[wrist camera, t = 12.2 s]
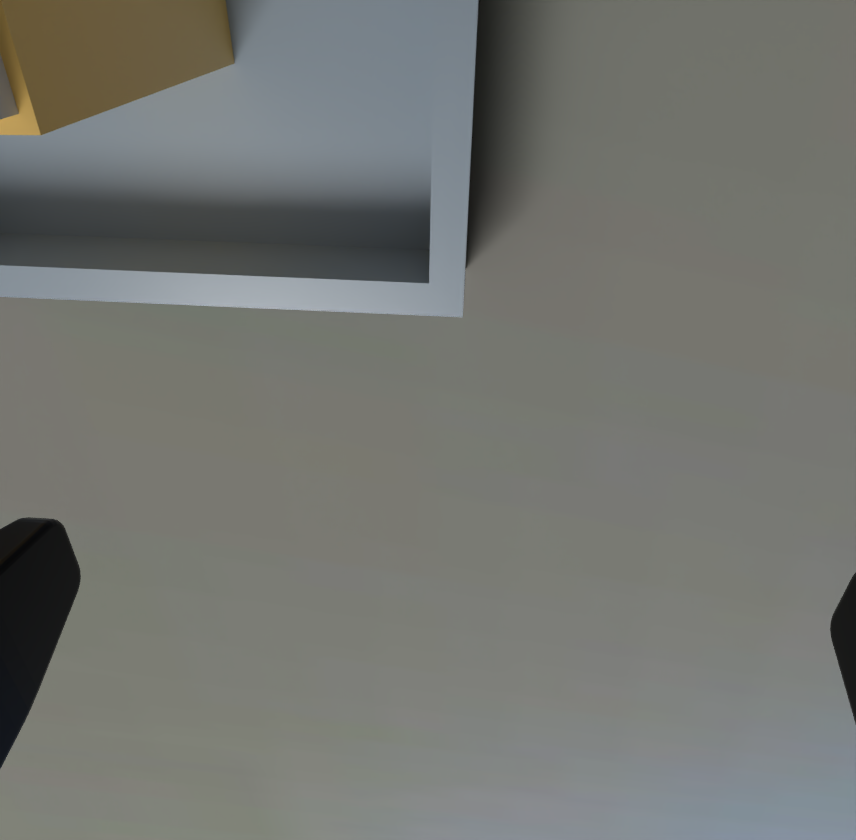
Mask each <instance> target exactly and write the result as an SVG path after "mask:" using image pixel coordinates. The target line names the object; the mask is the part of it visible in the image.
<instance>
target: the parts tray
mask: <svg viewBox="0 0 856 840" xmlns="http://www.w3.org/2000/svg"><path fill="white" fill-rule="evenodd" d="M226 7H227V14H228V21H229V28H230V35H231V42H232V49H233V56H234V63H235V64H232V65H229V66H227V67H224V68H221V69H218V70H216V71H213V72H210V73H208V74H205V75H202V76H200V77H197V78H194V79H191V80H189V81H186V82H183V83H181V84H178V85H175V86H173V87H170V88H167V89H165V90H162V91H159V92H156V93H154V94H151V95H148V96H146V97H143V98H140V99H138V100H135V101H132V102H129V103H127V104H124V105H121V106H119V107H116V108H113V109H111V110H108V111H105V112H103V113H100V114H97V115H94V116H92V117H89V118H86V119H84V120H81V121H78V122H76V123H73V124H70V125H67V126H65V127H62V128H59V129H57V130H54V131H51V132H49V133H46V134H43V135H0V297H20V298H42V299H64V300H87V301H109V302H132V303H154V304H177V305H199V306H222V307H244V308H267V309H289V310H312V311H334V312H357V313H379V314H402V315H424V316H447V317H463V304H464V287H465V270H466V250H467V230H468V210H469V190H470V170H471V149H472V129H473V109H474V89H475V69H476V49H477V29H478V8H479V0H226Z"/></svg>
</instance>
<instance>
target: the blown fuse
mask: <svg viewBox="0 0 856 840" xmlns="http://www.w3.org/2000/svg"><path fill="white" fill-rule="evenodd" d="M232 64H235V63H234V56H233V49H232V42H231V35H230V28H229V21H228V14H227V7H226V0H0V135H43V134H46V133H49V132H51V131H54V130H57V129H59V128H62V127H65V126H67V125H70V124H73V123H76V122H78V121H81V120H84V119H86V118H89V117H92V116H94V115H97V114H100V113H103V112H105V111H108V110H111V109H113V108H116V107H119V106H121V105H124V104H127V103H129V102H132V101H135V100H138V99H140V98H143V97H146V96H148V95H151V94H154V93H156V92H159V91H162V90H165V89H167V88H170V87H173V86H175V85H178V84H181V83H183V82H186V81H189V80H191V79H194V78H197V77H200V76H202V75H205V74H208V73H210V72H213V71H216V70H218V69H221V68H224V67H227V66H229V65H232Z"/></svg>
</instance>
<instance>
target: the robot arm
mask: <svg viewBox="0 0 856 840" xmlns="http://www.w3.org/2000/svg"><path fill="white" fill-rule="evenodd" d="M80 577H81V575H80V568H79V565H78V562H77V559H76V557H75V554H74V551H73V549H72V546H71V543H70V541H69V538H68V535H67V533H66V530H65V528H64V526H63V525H62V524H61V523H60V522H59V521H58V520H55V519H46V518H29V517H28V518H21V519H18V520H16V521H14V522H12V523H11V524H9V525H7V526H5V527H3V528H2V529H0V768H1V767H2V765H3V763H4V761H5V759H6V757H7V755H8V753H9V751H10V749H11V747H12V745H13V743H14V741H15V740H16V738H17V736H18V734H19V732H20V730H21V728H22V726H23V724H24V722H25V720H26V717H27V715H28V713H29V711H30V709H31V707H32V704H33V702H34V700H35V698H36V695H37V693H38V691H39V688H40V686H41V683H42V681H43V678H44V675H45V673H46V670H47V668H48V665H49V663H50V660H51V658H52V655H53V653H54V650H55V648H56V645H57V643H58V640H59V638H60V635H61V632H62V630H63V627H64V625H65V622H66V620H67V617H68V615H69V612H70V610H71V607H72V605H73V602H74V600H75V597H76V595H77V592H78V589H79V585H80ZM830 631H831V638H832V642H833V646H834V649H835V653H836V656H837V660H838V663H839V667H840V671H841V674H842V678H843V681H844V685H845V688H846V692H847V695H848V699H849V702H850V706H851V709H852V713H853V716H854V720H855V723H856V573H855V574H854V575H853V577H852V579H851V580H850V582H849V584H848V586H847V588H846V590H845V592H844V594H843V596H842V598H841V600H840V602H839V604H838V606H837V608H836V610H835V612H834V614H833V616H832V620H831V627H830Z"/></svg>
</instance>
